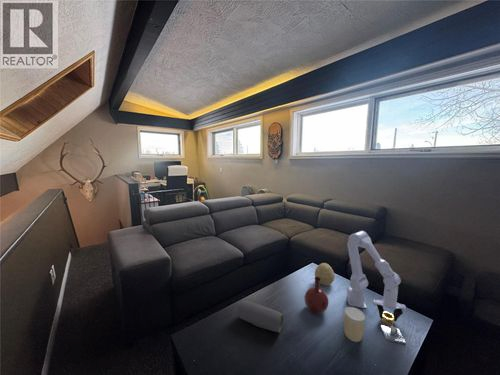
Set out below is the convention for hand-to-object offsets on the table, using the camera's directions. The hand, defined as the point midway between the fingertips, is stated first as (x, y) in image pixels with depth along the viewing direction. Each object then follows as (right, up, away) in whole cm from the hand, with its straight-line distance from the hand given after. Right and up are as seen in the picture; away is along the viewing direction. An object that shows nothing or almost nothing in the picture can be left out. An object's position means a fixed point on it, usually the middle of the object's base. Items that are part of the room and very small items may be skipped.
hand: (387, 318), depth 106 cm
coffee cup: (-23, -3, -8) cm, 24 cm away
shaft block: (-3, -3, -8) cm, 9 cm away
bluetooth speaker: (-69, -2, -2) cm, 69 cm away
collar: (0, -1, 0) cm, 1 cm away
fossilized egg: (-22, +3, +32) cm, 39 cm away
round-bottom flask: (-36, -1, +8) cm, 37 cm away
